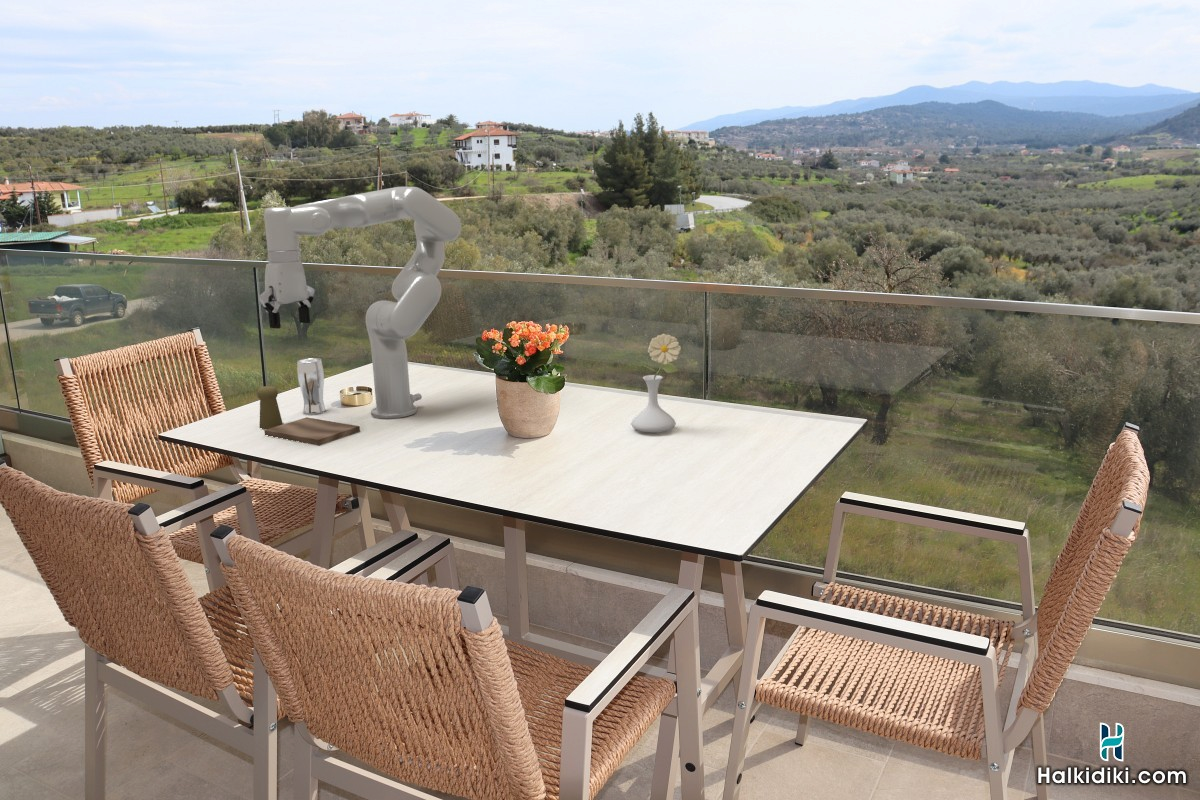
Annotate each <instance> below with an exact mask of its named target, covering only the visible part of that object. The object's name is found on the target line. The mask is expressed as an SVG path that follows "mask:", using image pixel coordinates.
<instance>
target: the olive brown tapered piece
mask: <svg viewBox="0 0 1200 800" xmlns="http://www.w3.org/2000/svg"><path fill="white" fill-rule="evenodd" d="M278 392H279V391H278V389H277V387H275V386H273V385H265V386H261V387H259V388H258V389H257V391H256V396H257V398H258V399H259V429H260V428H262V429H261V430H266V429H270V428H273V427H276V426H280V425H283V424H284V423H283V419H282V415H281V412H280V408H279V405H278V404H279V403H278V401H277V397H278V396H279V395H278V394H279V393H278Z"/></svg>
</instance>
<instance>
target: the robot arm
mask: <svg viewBox="0 0 1200 800" xmlns="http://www.w3.org/2000/svg"><path fill="white" fill-rule="evenodd" d="M263 213H264V215H263V216H264V217H263V218H264V226H265V237H266V239H265V240H266V247H267V258H268V263H266V265H265V272H264V291H263V292H262V293H260V295H258V297H257V298H258V299H259V302H260V303H261V307H262V308H263V309H264V310H265V313H268V321H269V328H271V329H281V318H280V317H281V314H280V312H278V310H279V308H280V306H281V305H287V304H292V303H297V304H298V305H299V307H298V308H297V309H298V319H299V323H302V324H311V317H310V308H311V306H312V302H313V301H314V296H315V291H316V290H315V288H313V287H311V286H309V285H308V284H307V279H306V274H305V268H304V265H303V263H302V262H301V257H302V252H301V251H300V245H299V243H300V241H299V236H309V237H311V236H312V237H318V236H323V235H325V234H326V233H327V232H329V230H332V229H341V228H342V229H343V228H349V229H350V228H353V229H354V228H365V227H369V226H375V225H379V224H385V223H389V222H393V221H394V222H395V221H399V220H405V219H406V220H407V219H408V220H413V221H414V223H413V231H414V234H415V238H416V239H415V240H416V248H415V250H414V252H413V254H412V255H411V257H410V259H409V260H408V261H407V262H406V264H405V265H404V267H403V268H402V269H401V271H400V272H399V274H398V275H397V276H396V277H395V279H394V280H393V283H392V286H391V294H392V296H393V297H394V299H395V300H397V302H396V301H391V300H382V299H381V300H378V301H375V302H373V303H372V304H371V305H369V307H368V309H366V314H365V326H366V331H367V334H368V339H369V343H370V352H371V360H372V361H371V362H372V374H373V383H374V395H375V396H374V397H375V406H376V407H373V408H372V409H371V411H370V413H371V414H370V415H371V417H374V418H376V419H377V418H378V419H399V418H406V417H409V416H412V415H414V414H416V413H417V412H418V408H417V406H416V405H414V403H415V402H418V401H420V400H422V398H423V395H422V394H421V393H419V392H418V393H415V394H412V393H411V389H410V377H409V365H408V363H409V362H408V351H407V350H408V349H407V345H406V344H407V343H406V341H405V340H406V339H409V338H411V337H413V336H414V335H416V333H417V332H418V331H419V330H420V328H421V327H422V326H423V324H424V323H425V322H426V320H427V319H428V317H429V316H430V315H431V314H432V312H433V310H434V309H435V307H436V306H437V305H438V303H439V301H440V298H441V296H442V285H441V282H440V280H439V278H438V277H437V276H438V275H439V272H440V271H441V270H442V268H443V265H444V263H445V259H446V256H445V255H446V251H445V243H449V242H450V243H451V242H454V241H455V240H456V239H458V238H459V236H460V235H461V233H462V222H461V219H460V217H459V216H458V215H457V214H456V212H454V211H453V210H452V209H451V208H449V207H448V206H446V205H445V204H444V203H442V202H441V201H440V200H438V199H437V198H435V197H434V196H432V195H431V194H430V193H428V192H427V191H425V190H423V188H420V187H417V186H394V187H390V188H383V189H378V190H373V191H367V192H361V193H356V194H351V195H346V196H342V197H336V198H332V199H331V198H330V199H326V200H320V201H314V202H308V203H303V204H298V205H294V206H293V207H291V206H288V207H287V206H285V207H283V206H280V207H279V206H277V207H274V206H273V207H272V206H271V207H267V208H266V209H265V210H264V212H263Z"/></svg>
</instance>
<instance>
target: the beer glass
mask: <svg viewBox="0 0 1200 800" xmlns="http://www.w3.org/2000/svg"><path fill="white" fill-rule="evenodd" d="M296 363H297V367H296V368H297V369H296V370H297V378H298V381H297V382H298V384H299V388H300V392H301V394H302V397H303V412H302V413H303V414H304V415H307V414H315V415H320V414H324V413H326V411H327V410H326V406H325V402H324V387H325V386H324V384H325V375H324V367H323V363H322V359H321V358H316V357H315V358H314V357H311V358H303V359H298V360H297V361H296ZM323 412H324V413H323Z"/></svg>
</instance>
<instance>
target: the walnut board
mask: <svg viewBox="0 0 1200 800" xmlns="http://www.w3.org/2000/svg"><path fill="white" fill-rule="evenodd" d="M263 430H264V436H265V435H268V436H267V437H269V436H273V437H272V438H275V437H278V438H277V439H280V438H283V439H282V440H286V439H288V440H287V441H291V440H293V441H292V442H296V441H299V442H298V443H302V442H303V443H302V444H307V443H308V444H307V445H313V446H322V445H325V444H328V443H330V442H334V441H336V440H339V439H343V438H345V437H348V436H351V435H354V434H357V433H360V432H361V426H360V425H356V424H349V423H345V422H344V423H343V422H339V421H338V422H337V421H330V420H325V419H320V418H319V419H318V418H314V417H304V418H300V419H297V420H293V421H289V422H287V423H283V425H280V426H276V427H273V428H270V429H263Z"/></svg>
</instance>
